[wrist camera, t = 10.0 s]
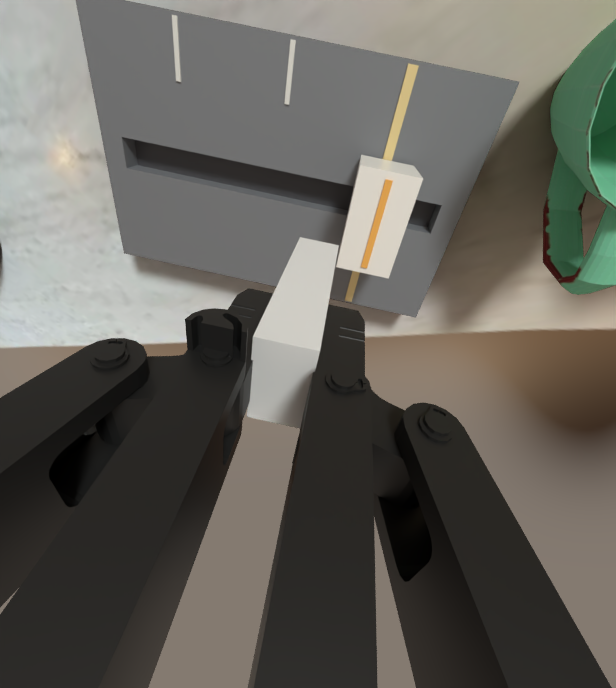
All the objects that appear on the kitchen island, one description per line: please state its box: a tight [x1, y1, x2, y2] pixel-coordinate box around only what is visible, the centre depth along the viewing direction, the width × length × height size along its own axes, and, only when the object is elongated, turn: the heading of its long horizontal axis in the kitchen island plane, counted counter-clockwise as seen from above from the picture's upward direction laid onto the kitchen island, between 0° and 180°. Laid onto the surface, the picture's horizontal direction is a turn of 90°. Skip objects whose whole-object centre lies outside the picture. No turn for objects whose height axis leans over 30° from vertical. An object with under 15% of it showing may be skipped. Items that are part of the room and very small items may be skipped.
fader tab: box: [336, 155, 423, 279], centre depth 22 cm, size 4×6×6 cm, turn 170°
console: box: [76, 0, 519, 317], centre depth 24 cm, size 26×16×3 cm, turn 80°
